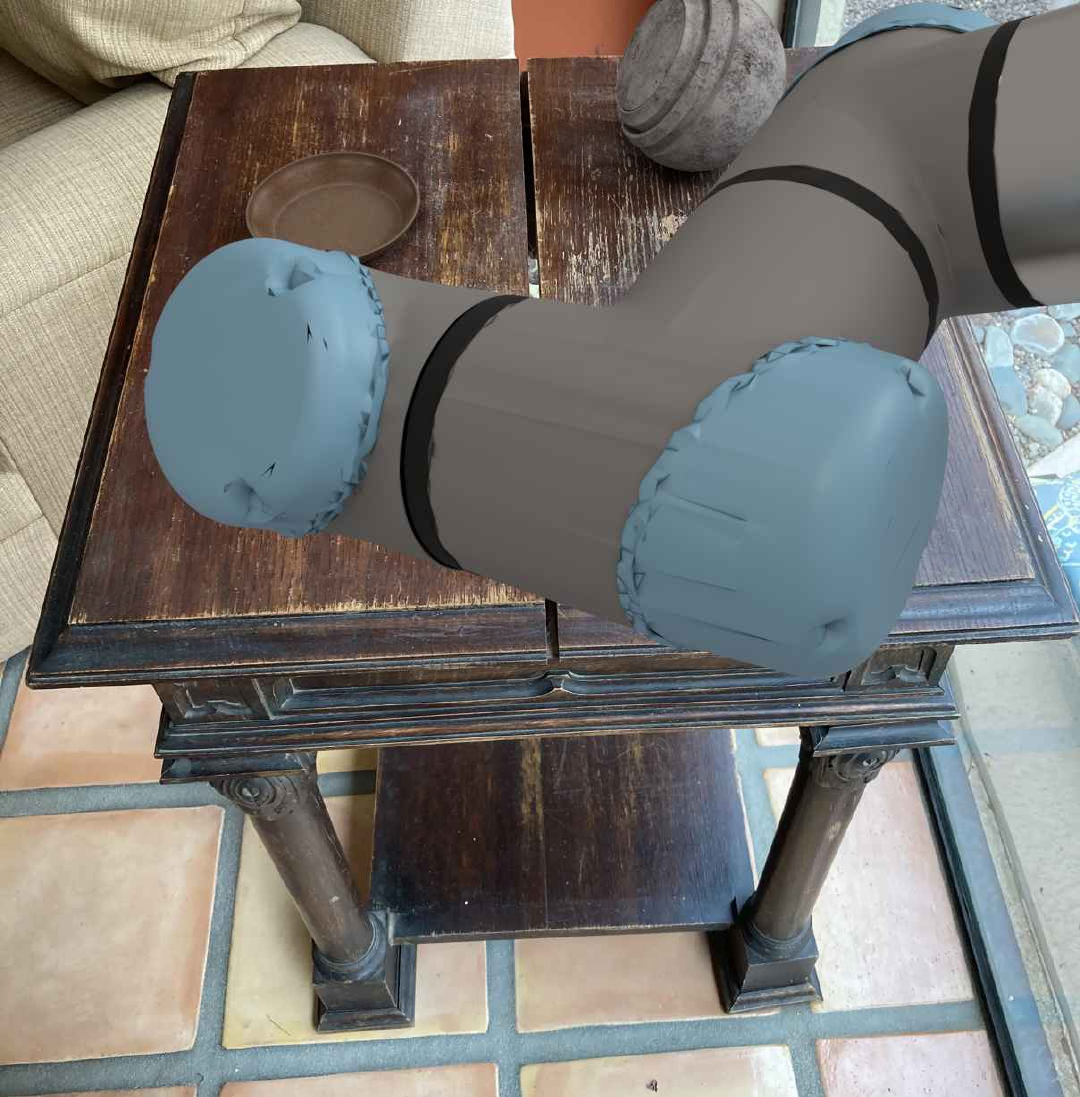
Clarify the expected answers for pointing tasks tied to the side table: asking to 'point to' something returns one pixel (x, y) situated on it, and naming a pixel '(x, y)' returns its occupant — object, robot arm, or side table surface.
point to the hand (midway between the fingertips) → (763, 481)
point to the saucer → (336, 204)
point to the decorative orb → (699, 81)
